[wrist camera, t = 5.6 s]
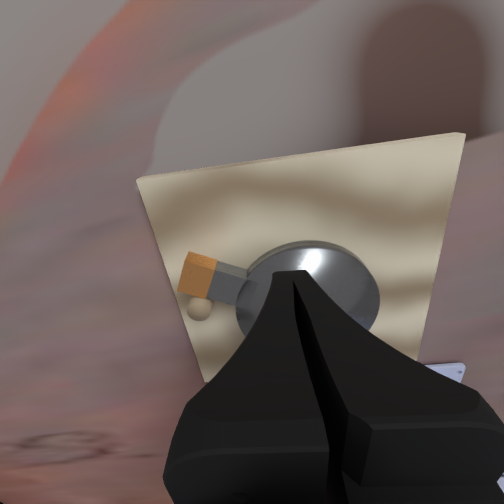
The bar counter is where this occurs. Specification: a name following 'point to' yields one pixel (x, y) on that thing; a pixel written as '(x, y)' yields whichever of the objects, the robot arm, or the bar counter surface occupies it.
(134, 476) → the bar counter surface
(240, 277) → the flange
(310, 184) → the base
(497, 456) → the robot arm
